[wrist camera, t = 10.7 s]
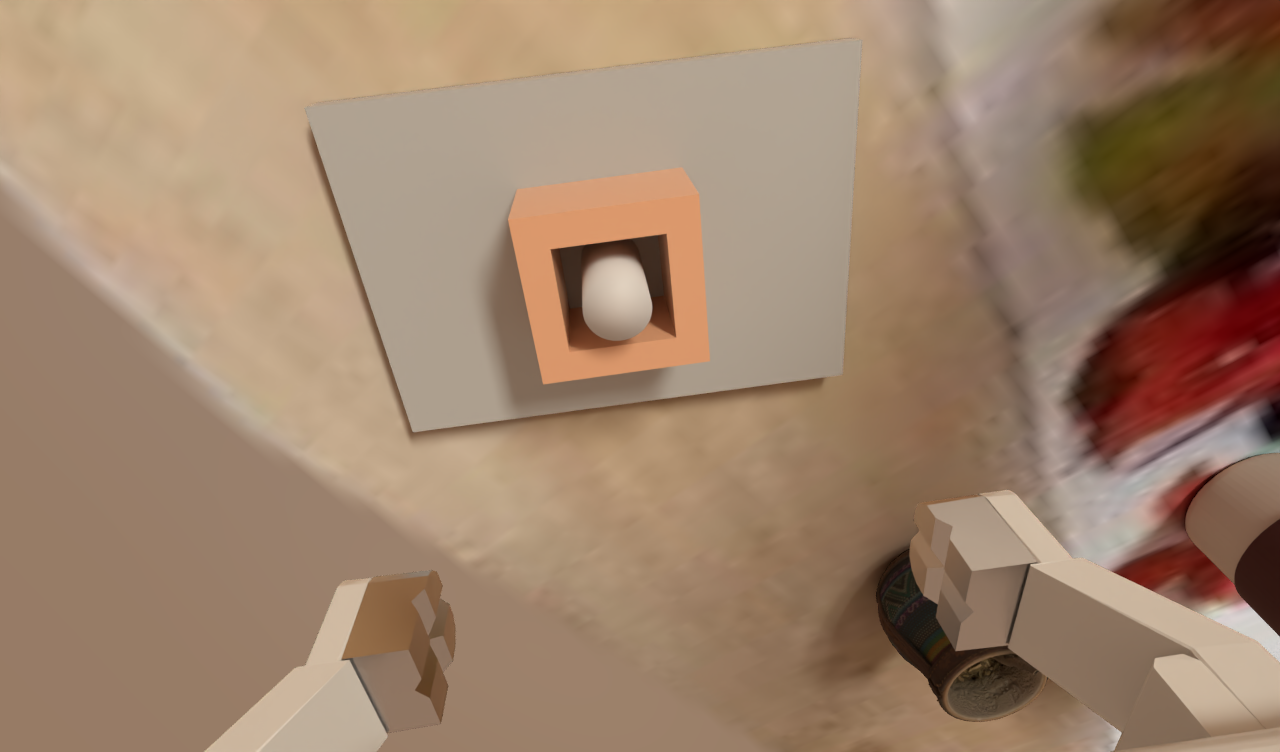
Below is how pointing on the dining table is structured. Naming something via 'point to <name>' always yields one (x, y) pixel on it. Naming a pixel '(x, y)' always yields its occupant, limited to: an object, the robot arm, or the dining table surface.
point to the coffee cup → (1243, 530)
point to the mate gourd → (952, 654)
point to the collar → (602, 217)
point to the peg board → (592, 133)
